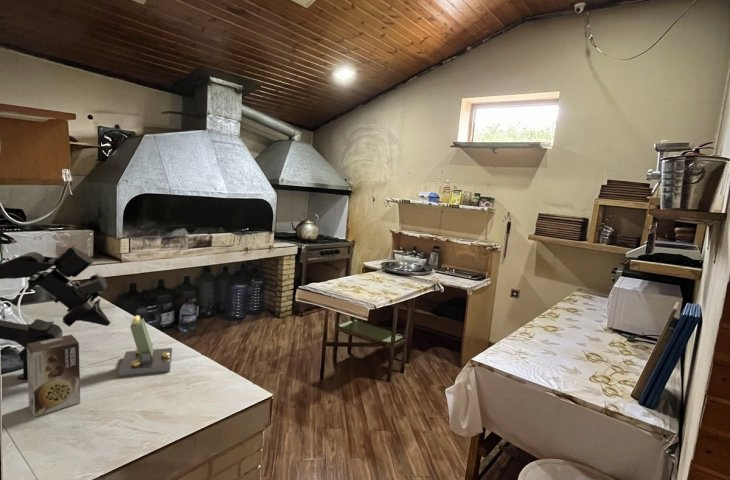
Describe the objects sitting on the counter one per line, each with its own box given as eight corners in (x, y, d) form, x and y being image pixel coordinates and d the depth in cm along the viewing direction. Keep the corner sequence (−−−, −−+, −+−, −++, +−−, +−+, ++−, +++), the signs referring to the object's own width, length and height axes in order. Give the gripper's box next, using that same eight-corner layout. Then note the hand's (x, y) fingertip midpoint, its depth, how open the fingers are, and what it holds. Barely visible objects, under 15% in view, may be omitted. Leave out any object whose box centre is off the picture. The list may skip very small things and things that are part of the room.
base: (118, 377, 110) (118, 359, 109) (126, 357, 121) (126, 341, 121) (169, 372, 115) (170, 355, 114) (172, 353, 127) (172, 338, 126)
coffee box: (73, 393, 100) (72, 333, 98) (81, 403, 96) (80, 341, 94) (27, 406, 93) (25, 342, 91) (33, 417, 89) (32, 351, 87)
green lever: (141, 362, 115) (128, 322, 112) (143, 355, 120) (131, 316, 117) (152, 359, 116) (140, 319, 113) (154, 351, 121) (142, 313, 118)
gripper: (77, 276, 100) (126, 315, 106) (94, 261, 117) (136, 295, 123) (39, 306, 98) (92, 344, 103) (62, 287, 114) (106, 321, 120)
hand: (108, 324), depth 113 cm, fingers closed
